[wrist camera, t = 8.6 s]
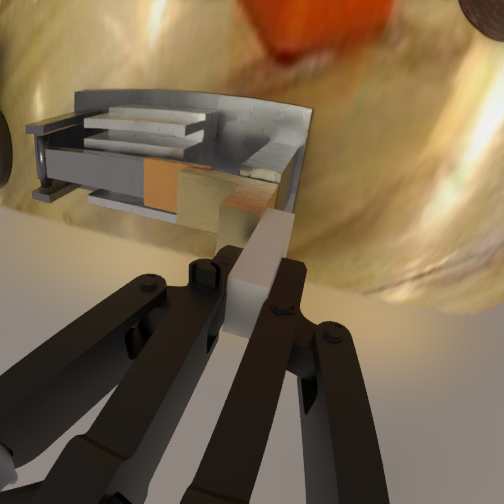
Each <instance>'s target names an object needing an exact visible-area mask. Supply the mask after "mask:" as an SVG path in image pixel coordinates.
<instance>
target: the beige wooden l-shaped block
mask: <svg viewBox="0 0 504 504" xmlns="http://www.w3.org/2000/svg"><path fill="white" fill-rule="evenodd" d="M278 186H279V184H274V183H270V182H265V181H260V180H255V179H251V178H246V177H241V176H236V175H231V174H226V173H220V172H215V171H210V170H204V169H198V168H193V167H185V168H183V169H181V170H180V171H178V184H177V216H176V224H179V225H183V226H188V227H192V228H196V229H200V230H204V231H208V232H212V233H216V234H217V239H216V251H215V256H216V254H217V253H218V251H219V250H220V249H221V248H223V247H224V246H226V245H232V246H236V247H240V248H245V246H246V244H247V242H248V241H249V239H250V237H251V235H252V234H253V232H254V230H255V228H256V227H257V225H258V223H259V222H260V220H261V218H262V216H263V215H264V213H265V211H266V210H267V208H272V209H274V208H275V203H276V197H277V192H278Z"/></svg>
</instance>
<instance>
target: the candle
mask: <svg viewBox="0 0 504 504" xmlns="http://www.w3.org/2000/svg"><path fill="white" fill-rule="evenodd" d="M459 1H460V3H461V6H462V9H463V11H464V13H465V14H466V16H467V17H468V18H469V19H470V20H471V21H472V22H473V23H475V25H476V26H477V27H478V28H480V29H481V30H482V31H483V32H484V33H485V34H486V35H488V36H489V37H492V38H494V39H496V40H498V41H504V0H459Z"/></svg>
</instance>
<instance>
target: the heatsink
mask: <svg viewBox="0 0 504 504" xmlns="http://www.w3.org/2000/svg"><path fill="white" fill-rule="evenodd" d="M312 112H313V108H309V107H304V106H299V105H294V104H288V103H283V102H277V101H271V100H264V99H258V98H251V97H243V96H235V95H226V94H217V93H206V92H194V91H178V90H154V89H109V90H85V91H78V92H75V108H74V112H73V113H68V114H64V115H61V116H57V117H53V118H49V119H46V120H42V121H39V122H35V123H32V124H29V125H26V134H34V138H35V153H36V164H37V174H38V179H40V173H39V163H38V151H37V136H38V135H41V134H48V142H49V148H50V147H52V146H54V147H64V148H74V149H84V150H92V151H101V152H109V153H116V154H124V155H131V156H138V157H144V158H146V157H148V156H151V157H157V158H164V159H170V160H176V161H182V162H188V163H193V164H199V165H204V166H210V167H213V169H214V170H219V171H224V172H229V173H231V175H236V176H241V177H246V178H251V179H255V180H260V181H265V182H270V183H274V184H279V186H278V192H277V197H276V203H275V208H274V209H276V210H280V211H285V212H289V213H293V210H294V205H295V200H296V195H297V191H298V186H299V181H300V176H301V170H302V165H303V160H304V155H305V150H306V145H307V139H308V134H309V129H310V123H311V118H312ZM51 180H52V186H51V187H48V188H41V187H39V188H38V189H36V190H34V191H32V196H33V199H36V200H39V201H43V202H47V203H52V202H53V201H55V200H57V199H59V198H60V197H62V196H64V195H66V194H68V193H70V192H71V191H73V190H75V189H77V188H82V189H87V190H92V191H94V192H92V193H90V194H89V195H87V197H88V203H90V204H94V205H98V206H103V207H107V208H111V209H115V210H119V211H124V212H128V213H132V214H136V215H140V216H144V217H149V218H153V219H157V220H161V221H165V222H169V223H173V224H176V216H177V213H174V212H170V211H166V210H162V209H158V208H154V207H149V206H145V205H144V198H142V197H137V196H133V195H128V194H124V193H119V192H115V191H110V190H105V189H101V188H96V187H91V186H87V185H82V184H77V183H72V182H67V181H62V180H58V179H53V178H51ZM178 225H179V224H178Z"/></svg>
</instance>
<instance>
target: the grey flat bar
mask: <svg viewBox="0 0 504 504" xmlns="http://www.w3.org/2000/svg"><path fill="white" fill-rule="evenodd" d="M37 151H38V163H39V173H40V182H41V188H48V187H51V186H52V180H51V178H53V179H58V180H62V181H67V182H72V183H77V184H82V185H87V186H91V187H96V188H101V189H105V190H110V191H115V192H119V193H124V194H128V195H133V196H137V197H142V198H144V205H145V206H149V207H154V208H158V209H162V210H166V211H170V212H174V213H177V184H178V171H180V170H181V169H183V168H185V167H193V168H198V169H204V170H210V171H215V172H220V173H226V174H231V173H229V172H224V171H219V170H214V169H213V167H210V166H204V165H199V164H193V163H188V162H182V161H176V160H170V159H164V158H157V157H151V156H148V157H146V158H144V157H138V156H131V155H124V154H116V153H109V152H101V151H92V150H84V149H74V148H64V147H54V146H52V147H50V148H49V142H48V134H41V135H38V136H37Z"/></svg>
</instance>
